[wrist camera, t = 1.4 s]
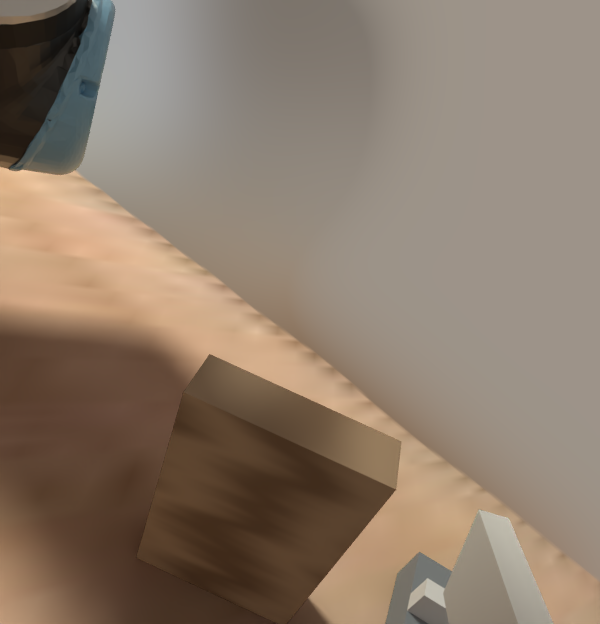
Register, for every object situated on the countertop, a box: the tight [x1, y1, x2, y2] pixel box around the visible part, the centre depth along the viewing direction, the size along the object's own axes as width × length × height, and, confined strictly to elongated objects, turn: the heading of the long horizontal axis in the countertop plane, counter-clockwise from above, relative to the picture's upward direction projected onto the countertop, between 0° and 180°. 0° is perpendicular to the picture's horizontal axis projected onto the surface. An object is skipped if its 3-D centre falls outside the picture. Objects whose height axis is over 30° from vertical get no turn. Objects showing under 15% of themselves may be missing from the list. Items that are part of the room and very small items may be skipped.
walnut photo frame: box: [136, 354, 401, 624], centre depth 24 cm, size 9×3×14 cm, turn 74°
